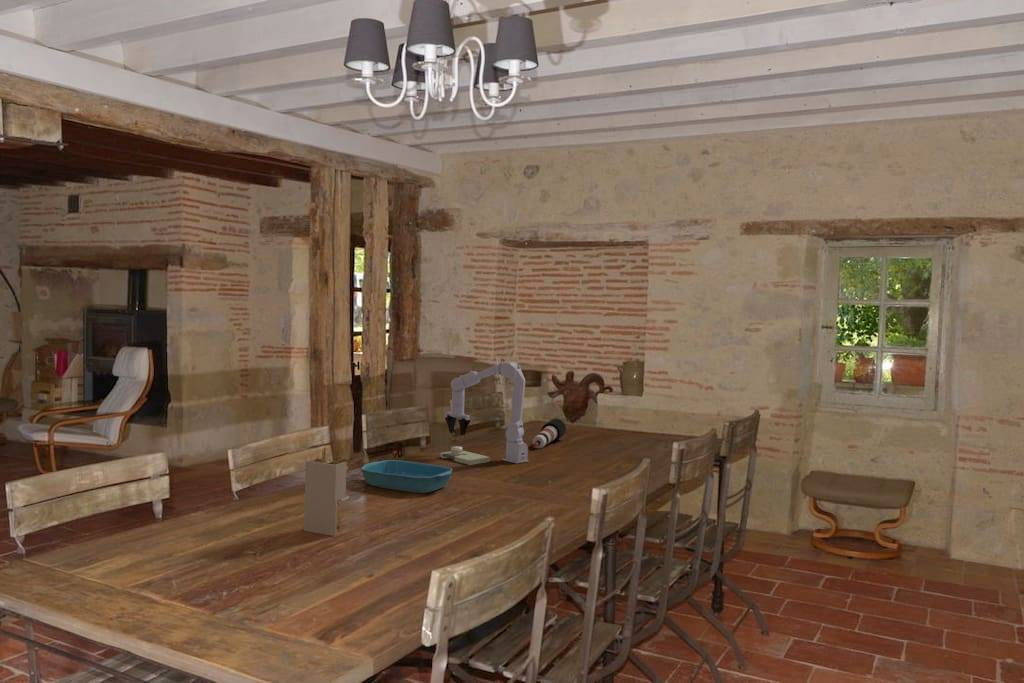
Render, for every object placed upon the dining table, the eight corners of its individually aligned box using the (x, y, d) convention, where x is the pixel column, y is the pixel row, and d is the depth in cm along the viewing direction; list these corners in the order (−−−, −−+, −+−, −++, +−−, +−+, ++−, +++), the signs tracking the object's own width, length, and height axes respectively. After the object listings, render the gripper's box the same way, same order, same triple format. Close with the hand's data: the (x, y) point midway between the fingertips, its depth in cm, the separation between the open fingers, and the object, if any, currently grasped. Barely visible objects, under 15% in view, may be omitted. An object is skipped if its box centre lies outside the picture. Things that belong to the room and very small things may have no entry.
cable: (530, 458, 389) (521, 439, 389) (552, 440, 420) (544, 422, 420) (548, 451, 385) (538, 432, 385) (569, 433, 416) (560, 415, 416)
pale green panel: (490, 461, 356) (490, 457, 356) (469, 465, 348) (469, 460, 348) (460, 454, 371) (460, 450, 370) (439, 457, 362) (440, 453, 362)
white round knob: (464, 458, 361) (464, 447, 361) (455, 460, 358) (455, 448, 357) (457, 456, 365) (457, 446, 365) (448, 458, 361) (448, 447, 361)
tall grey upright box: (335, 537, 241) (337, 452, 239) (304, 531, 245) (305, 448, 244) (350, 530, 248) (352, 448, 247) (320, 525, 253) (321, 444, 251)
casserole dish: (349, 485, 306) (349, 466, 306) (384, 474, 326) (384, 456, 326) (431, 498, 289) (432, 479, 289) (463, 486, 309) (463, 468, 309)
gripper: (440, 402, 369) (440, 432, 370) (461, 406, 359) (461, 437, 359) (452, 401, 374) (451, 430, 375) (473, 405, 364) (472, 435, 364)
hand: (457, 433), depth 367 cm, fingers open, 7 cm apart
